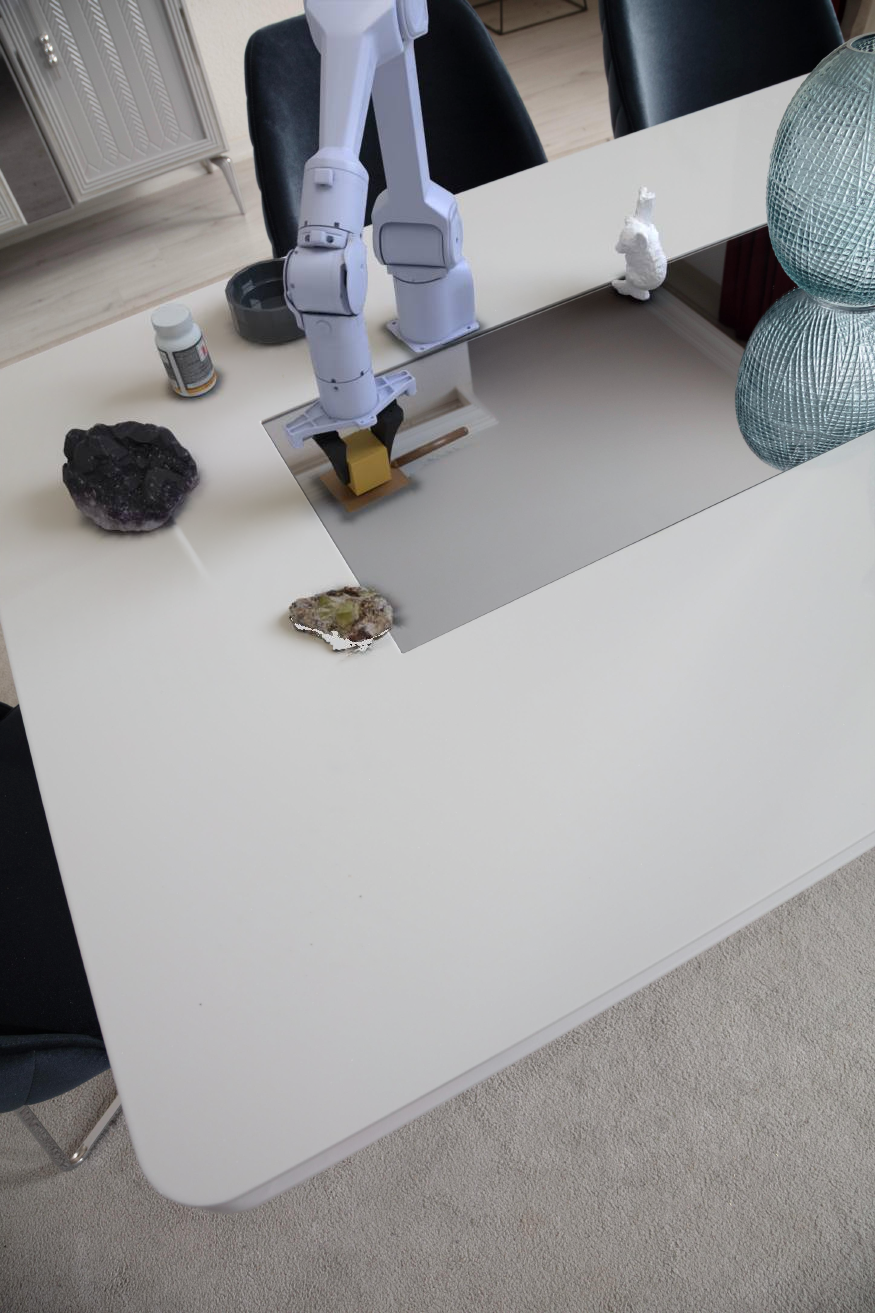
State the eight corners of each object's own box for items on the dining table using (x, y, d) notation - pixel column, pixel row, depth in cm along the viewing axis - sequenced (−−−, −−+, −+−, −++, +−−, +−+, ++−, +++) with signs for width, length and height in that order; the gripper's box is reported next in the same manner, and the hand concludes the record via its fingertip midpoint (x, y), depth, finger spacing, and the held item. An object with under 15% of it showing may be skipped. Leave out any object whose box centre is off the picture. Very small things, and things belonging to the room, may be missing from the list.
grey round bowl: (300, 281, 128) (292, 247, 124) (341, 321, 122) (335, 287, 118) (220, 314, 125) (210, 280, 121) (258, 357, 119) (249, 323, 115)
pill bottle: (222, 369, 118) (199, 299, 110) (211, 398, 114) (187, 328, 106) (179, 370, 118) (154, 300, 111) (167, 399, 115) (140, 328, 107)
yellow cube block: (372, 457, 104) (366, 426, 100) (391, 479, 102) (386, 448, 98) (338, 473, 103) (331, 443, 99) (357, 496, 100) (350, 465, 97)
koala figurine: (614, 272, 123) (620, 181, 114) (665, 273, 122) (676, 182, 113) (608, 309, 119) (614, 218, 109) (661, 311, 117) (673, 219, 108)
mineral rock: (402, 575, 91) (383, 622, 85) (406, 611, 94) (388, 660, 88) (298, 570, 93) (272, 616, 87) (305, 606, 96) (280, 653, 90)
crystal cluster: (226, 493, 105) (203, 416, 98) (126, 555, 99) (93, 478, 91) (158, 453, 112) (132, 378, 105) (61, 508, 105) (26, 433, 98)
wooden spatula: (451, 418, 108) (450, 409, 107) (484, 450, 105) (484, 441, 104) (319, 481, 104) (317, 473, 103) (349, 516, 100) (347, 508, 99)
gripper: (295, 415, 86) (322, 519, 97) (426, 355, 90) (438, 461, 101) (263, 378, 90) (292, 481, 101) (390, 322, 94) (405, 428, 105)
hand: (363, 469), depth 101 cm, fingers closed on yellow cube block, 4 cm apart
